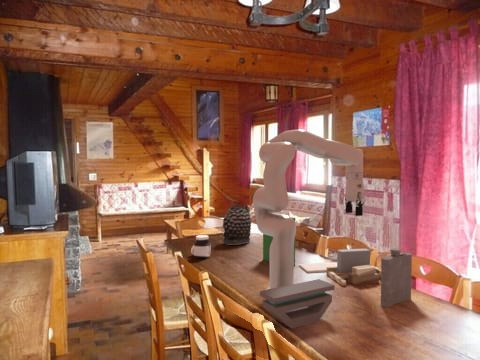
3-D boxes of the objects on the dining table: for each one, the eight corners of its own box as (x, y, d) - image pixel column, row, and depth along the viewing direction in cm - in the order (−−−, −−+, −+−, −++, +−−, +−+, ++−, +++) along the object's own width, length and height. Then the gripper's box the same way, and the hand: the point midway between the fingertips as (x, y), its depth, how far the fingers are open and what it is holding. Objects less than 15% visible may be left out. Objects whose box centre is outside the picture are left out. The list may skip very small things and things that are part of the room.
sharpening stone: (273, 333, 121) (273, 298, 121) (259, 324, 128) (259, 291, 127) (334, 316, 134) (334, 285, 133) (318, 309, 141) (318, 279, 140)
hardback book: (295, 265, 198) (295, 218, 197) (283, 267, 195) (283, 219, 193) (274, 257, 214) (274, 213, 212) (263, 259, 210) (263, 214, 208)
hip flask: (386, 308, 141) (387, 253, 140) (376, 304, 144) (377, 250, 143) (412, 299, 150) (413, 247, 149) (403, 296, 153) (404, 245, 152)
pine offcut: (374, 273, 171) (374, 267, 170) (358, 276, 167) (358, 269, 167) (368, 271, 174) (368, 264, 174) (352, 273, 171) (352, 267, 170)
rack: (391, 282, 170) (391, 274, 170) (342, 286, 166) (342, 277, 166) (371, 271, 186) (371, 264, 186) (326, 274, 182) (326, 267, 182)
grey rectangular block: (369, 276, 179) (370, 250, 179) (340, 278, 177) (341, 251, 176) (365, 273, 183) (365, 248, 183) (337, 275, 181) (337, 249, 180)
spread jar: (205, 260, 209) (204, 238, 209) (185, 258, 213) (185, 237, 212) (213, 254, 221) (213, 234, 220) (195, 253, 224) (195, 233, 224)
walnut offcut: (378, 283, 170) (379, 274, 170) (354, 285, 167) (354, 276, 167) (372, 280, 175) (372, 271, 175) (347, 282, 172) (348, 273, 172)
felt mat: (351, 270, 189) (351, 268, 189) (307, 272, 185) (307, 270, 185) (340, 263, 201) (340, 261, 201) (299, 266, 197) (299, 264, 197)
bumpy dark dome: (241, 239, 263) (241, 202, 262) (257, 242, 252) (257, 203, 251) (217, 243, 249) (216, 204, 248) (232, 247, 238) (232, 206, 237)
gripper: (371, 177, 170) (371, 216, 171) (353, 175, 187) (352, 211, 188) (355, 177, 169) (355, 217, 170) (338, 175, 186) (337, 211, 187)
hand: (353, 214), depth 179 cm, fingers open, 9 cm apart
